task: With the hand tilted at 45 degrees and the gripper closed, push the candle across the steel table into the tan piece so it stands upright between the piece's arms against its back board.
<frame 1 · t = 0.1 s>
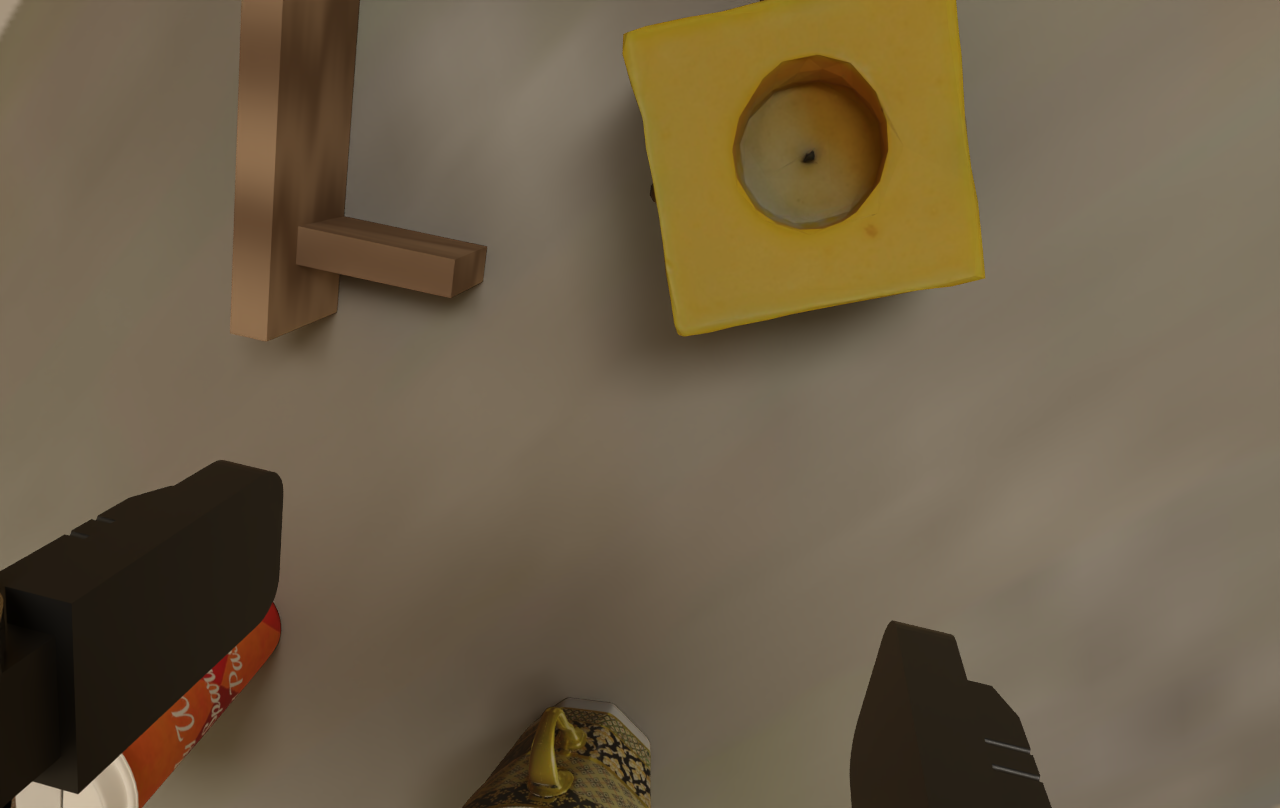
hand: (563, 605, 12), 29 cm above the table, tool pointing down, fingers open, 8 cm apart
tan piece: (429, 80, 39), on the table
paper cup: (235, 615, 50), on the table
ceramic cup: (590, 725, 48), on the table
candle: (801, 151, 38), on the table
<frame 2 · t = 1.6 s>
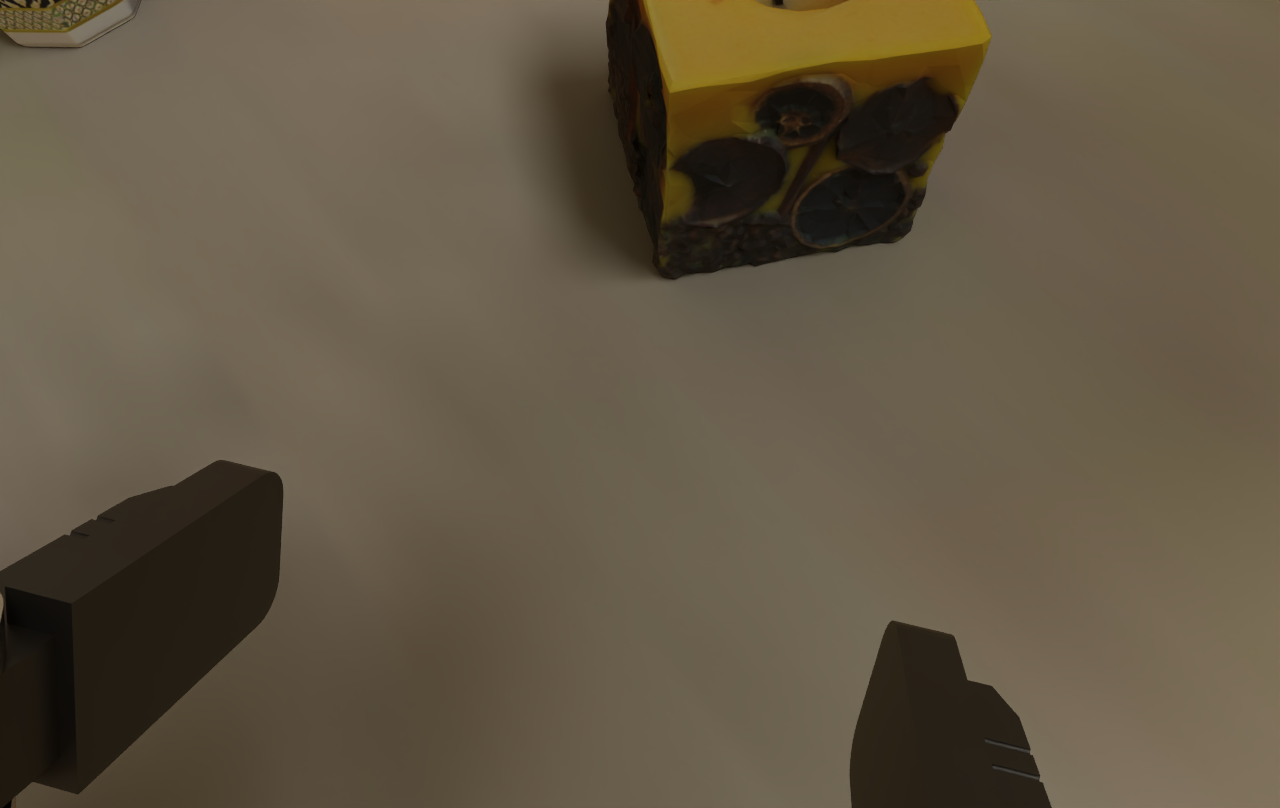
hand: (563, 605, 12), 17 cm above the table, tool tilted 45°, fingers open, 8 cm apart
ceramic cup: (108, 1, 42), on the table
candle: (751, 164, 37), on the table
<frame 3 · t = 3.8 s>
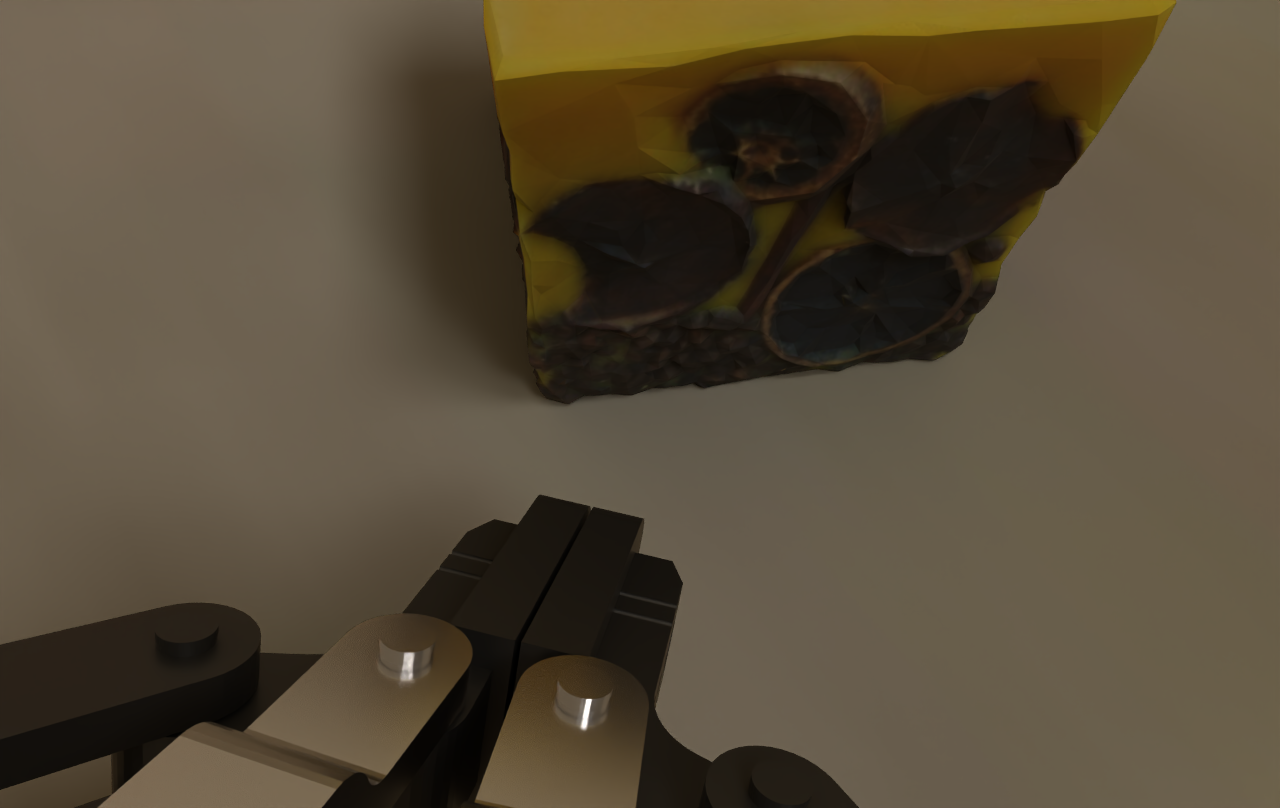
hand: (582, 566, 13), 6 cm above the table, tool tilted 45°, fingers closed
candle: (712, 218, 24), on the table
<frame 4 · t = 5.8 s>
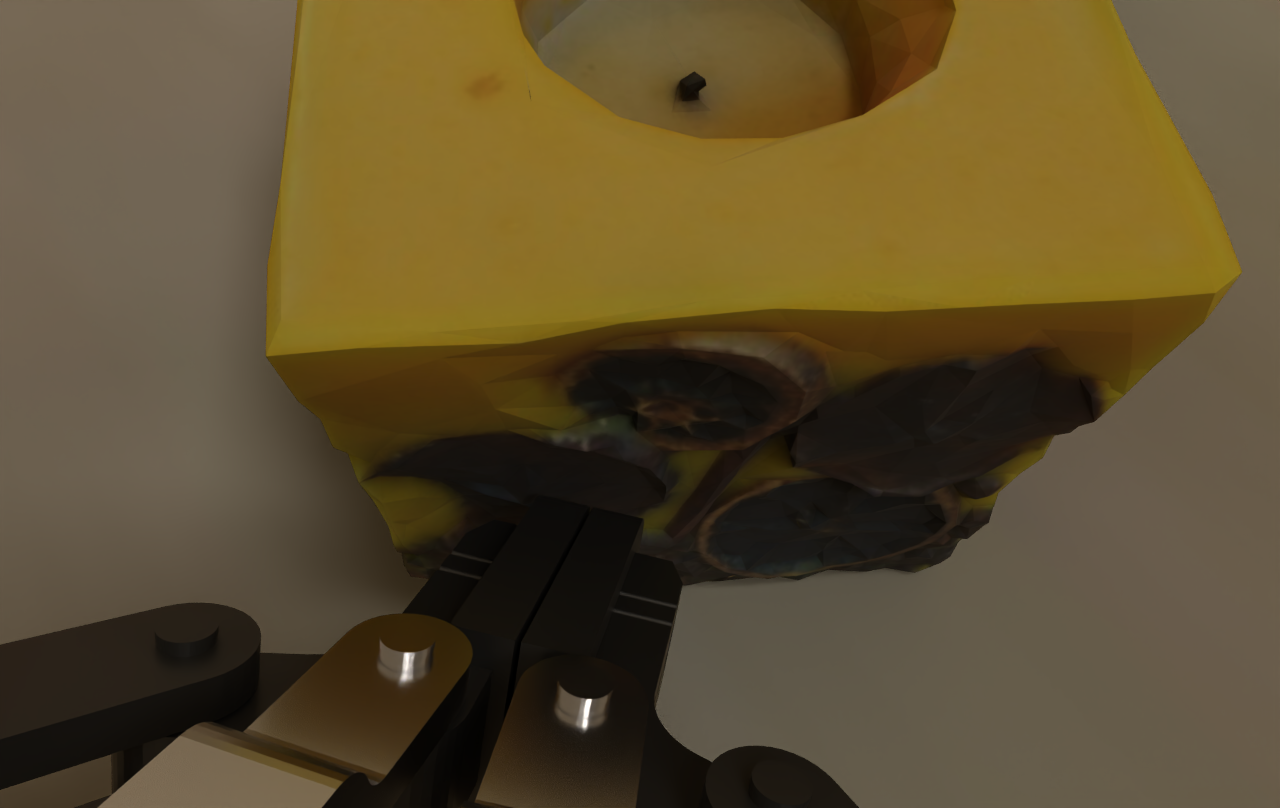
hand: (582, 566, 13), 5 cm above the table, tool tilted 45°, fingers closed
candle: (666, 367, 20), on the table
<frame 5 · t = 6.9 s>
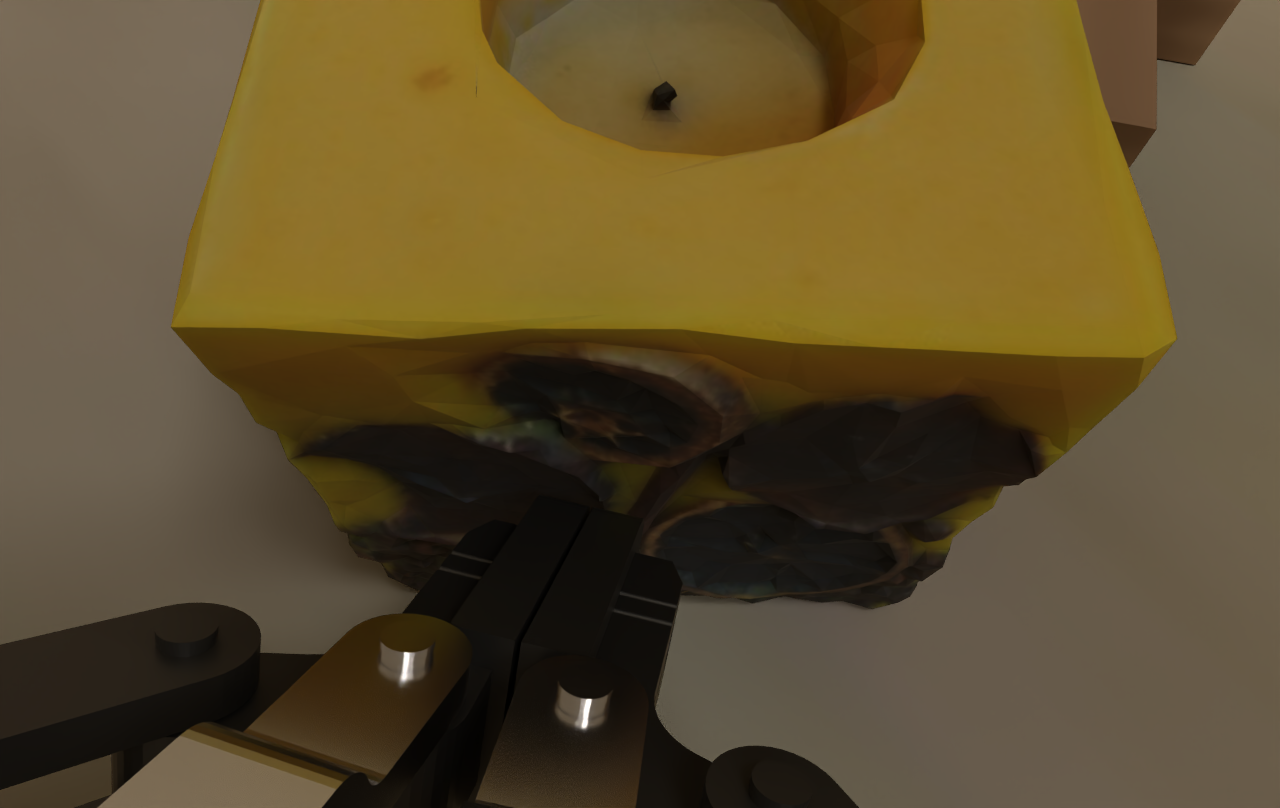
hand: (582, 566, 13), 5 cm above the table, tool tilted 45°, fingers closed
tan piece: (747, 81, 23), on the table
candle: (651, 374, 20), on the table, touching gripper
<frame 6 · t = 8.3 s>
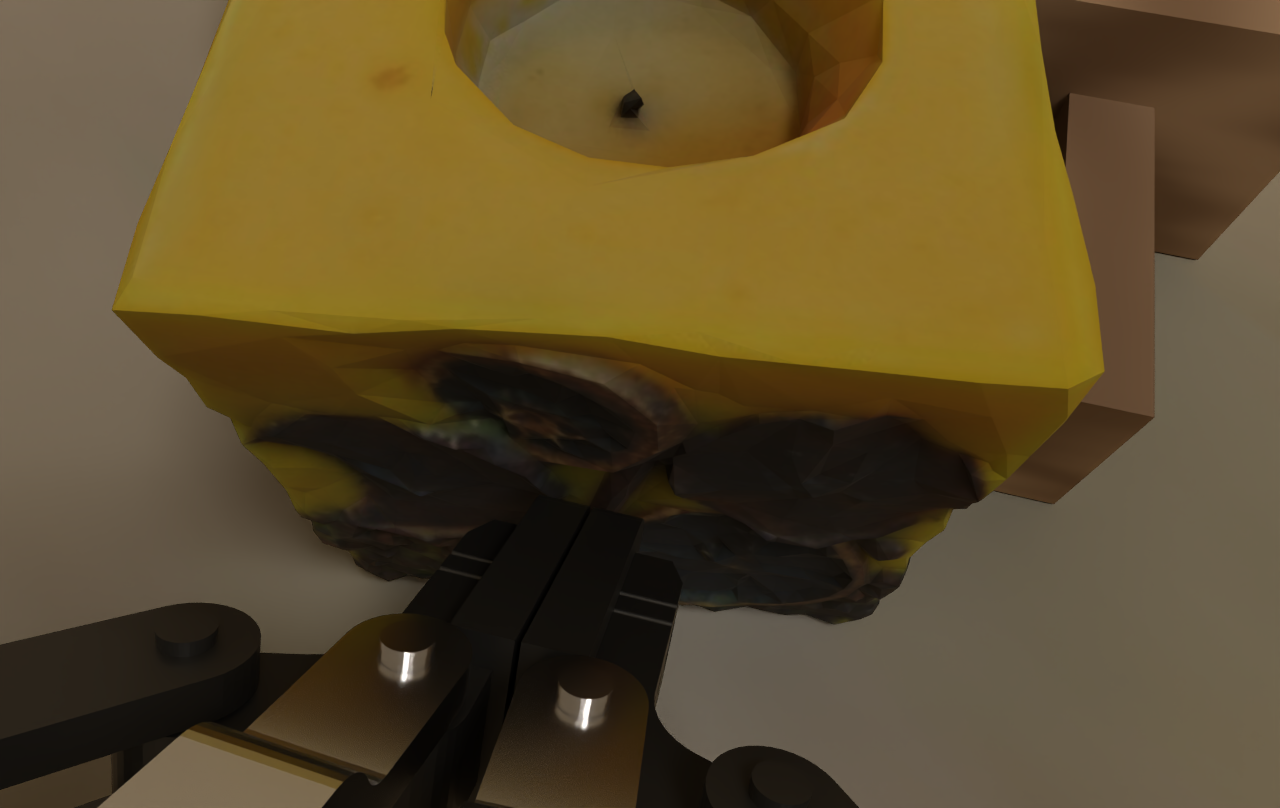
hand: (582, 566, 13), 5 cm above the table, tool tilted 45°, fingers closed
tan piece: (693, 283, 21), on the table
candle: (632, 378, 20), on the table, touching gripper
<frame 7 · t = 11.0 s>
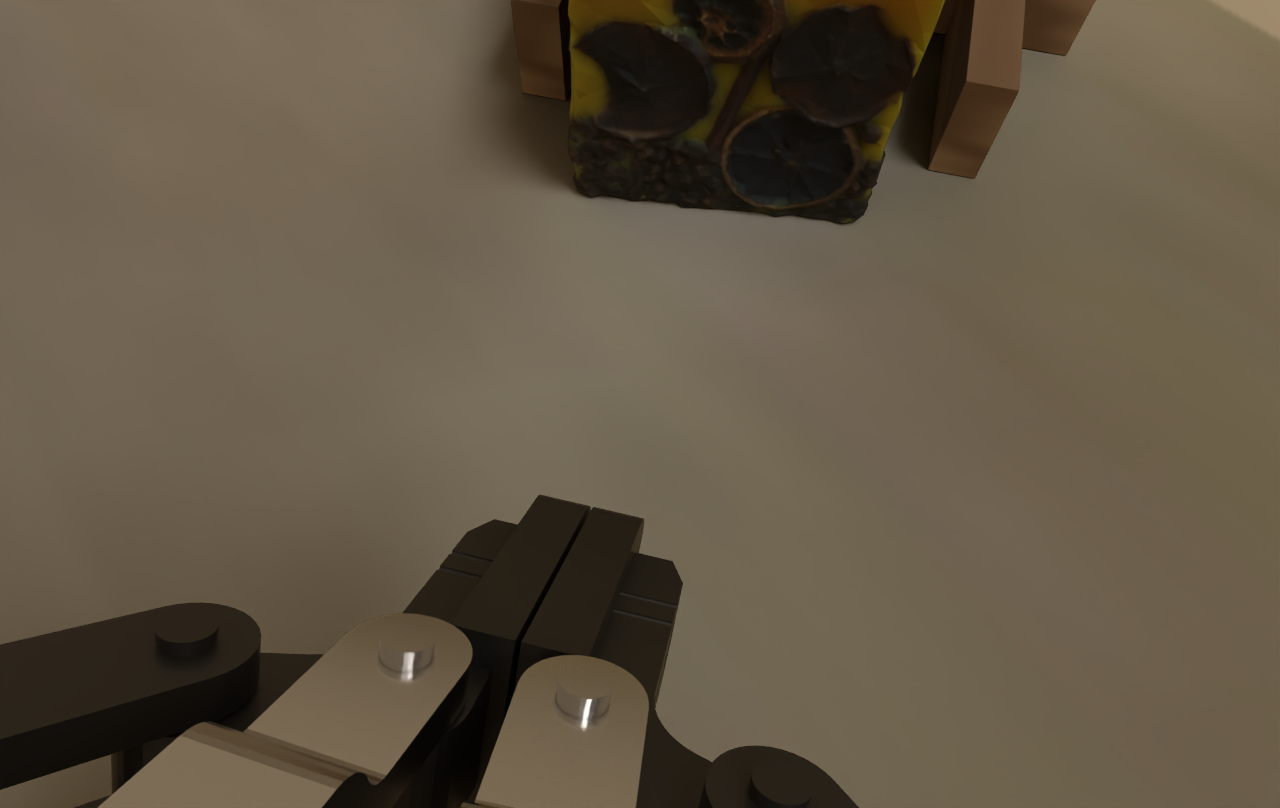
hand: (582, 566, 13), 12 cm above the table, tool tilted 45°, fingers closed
tan piece: (760, 66, 34), on the table
candle: (724, 108, 33), on the table
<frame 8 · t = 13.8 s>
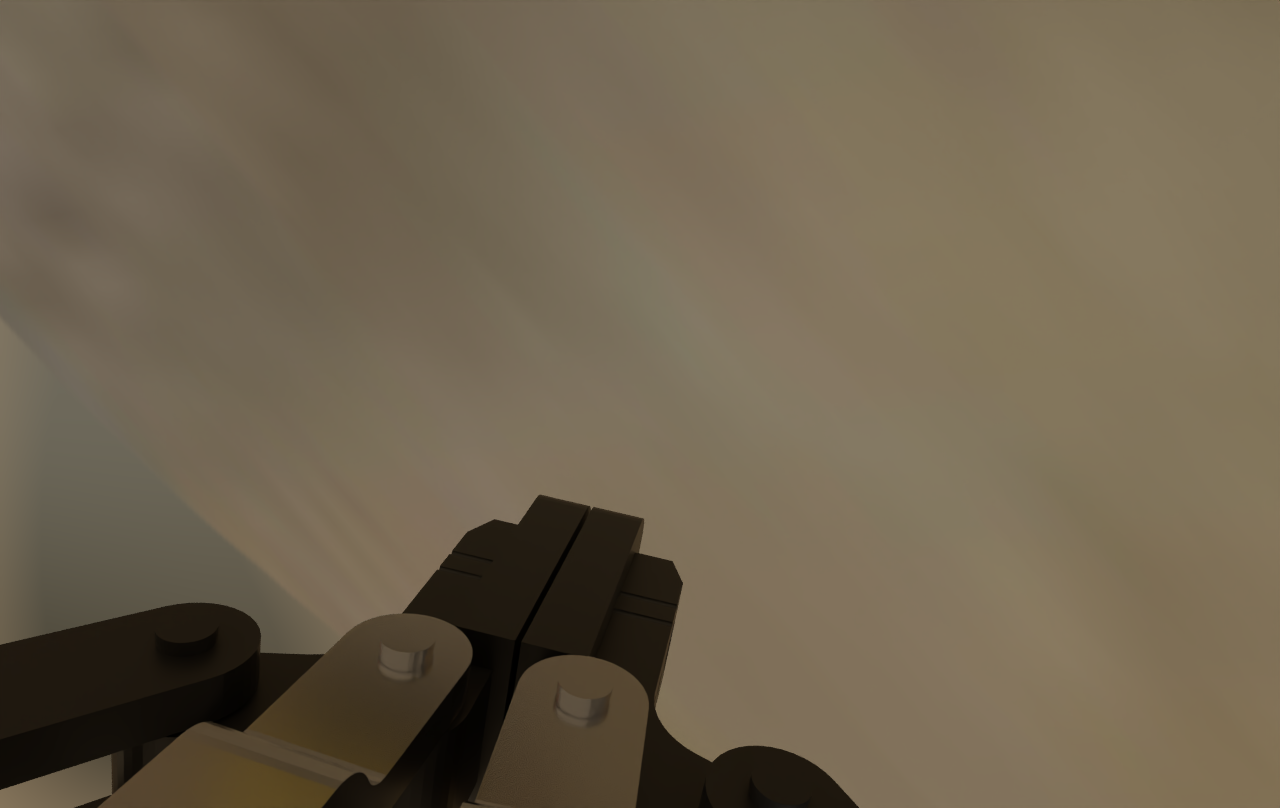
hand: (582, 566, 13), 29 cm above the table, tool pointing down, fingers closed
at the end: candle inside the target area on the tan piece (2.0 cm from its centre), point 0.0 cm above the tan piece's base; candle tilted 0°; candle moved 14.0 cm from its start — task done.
